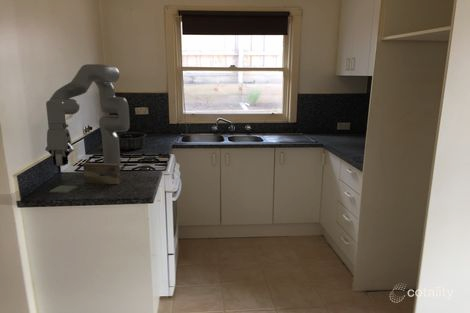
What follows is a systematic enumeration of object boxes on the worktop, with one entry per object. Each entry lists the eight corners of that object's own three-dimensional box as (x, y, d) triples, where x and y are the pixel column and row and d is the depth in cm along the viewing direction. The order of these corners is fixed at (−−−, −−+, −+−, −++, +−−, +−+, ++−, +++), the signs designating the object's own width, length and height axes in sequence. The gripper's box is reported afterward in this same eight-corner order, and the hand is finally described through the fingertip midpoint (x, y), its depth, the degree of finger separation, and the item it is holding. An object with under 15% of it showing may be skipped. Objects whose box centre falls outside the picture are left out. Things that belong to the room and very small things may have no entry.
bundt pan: (141, 151, 267) (141, 138, 265) (106, 151, 267) (105, 137, 265) (150, 144, 292) (150, 132, 290) (118, 144, 293) (117, 132, 291)
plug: (59, 163, 177) (58, 149, 176) (67, 164, 177) (65, 150, 175) (54, 165, 173) (53, 151, 172) (62, 166, 173) (61, 151, 171)
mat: (60, 186, 183) (60, 185, 183) (77, 187, 182) (77, 186, 182) (49, 192, 174) (49, 190, 174) (67, 193, 173) (67, 191, 173)
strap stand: (87, 181, 192) (86, 162, 190) (120, 182, 190) (118, 164, 188) (84, 182, 190) (83, 164, 187) (117, 184, 187) (116, 165, 185)
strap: (110, 170, 186) (110, 168, 186) (114, 170, 186) (114, 168, 185) (99, 175, 175) (99, 173, 175) (104, 176, 175) (104, 174, 175)
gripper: (78, 125, 174) (81, 163, 178) (45, 125, 176) (49, 161, 180) (69, 128, 166) (73, 166, 170) (35, 127, 168) (39, 165, 172)
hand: (60, 163), depth 175 cm, fingers closed on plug, 4 cm apart
